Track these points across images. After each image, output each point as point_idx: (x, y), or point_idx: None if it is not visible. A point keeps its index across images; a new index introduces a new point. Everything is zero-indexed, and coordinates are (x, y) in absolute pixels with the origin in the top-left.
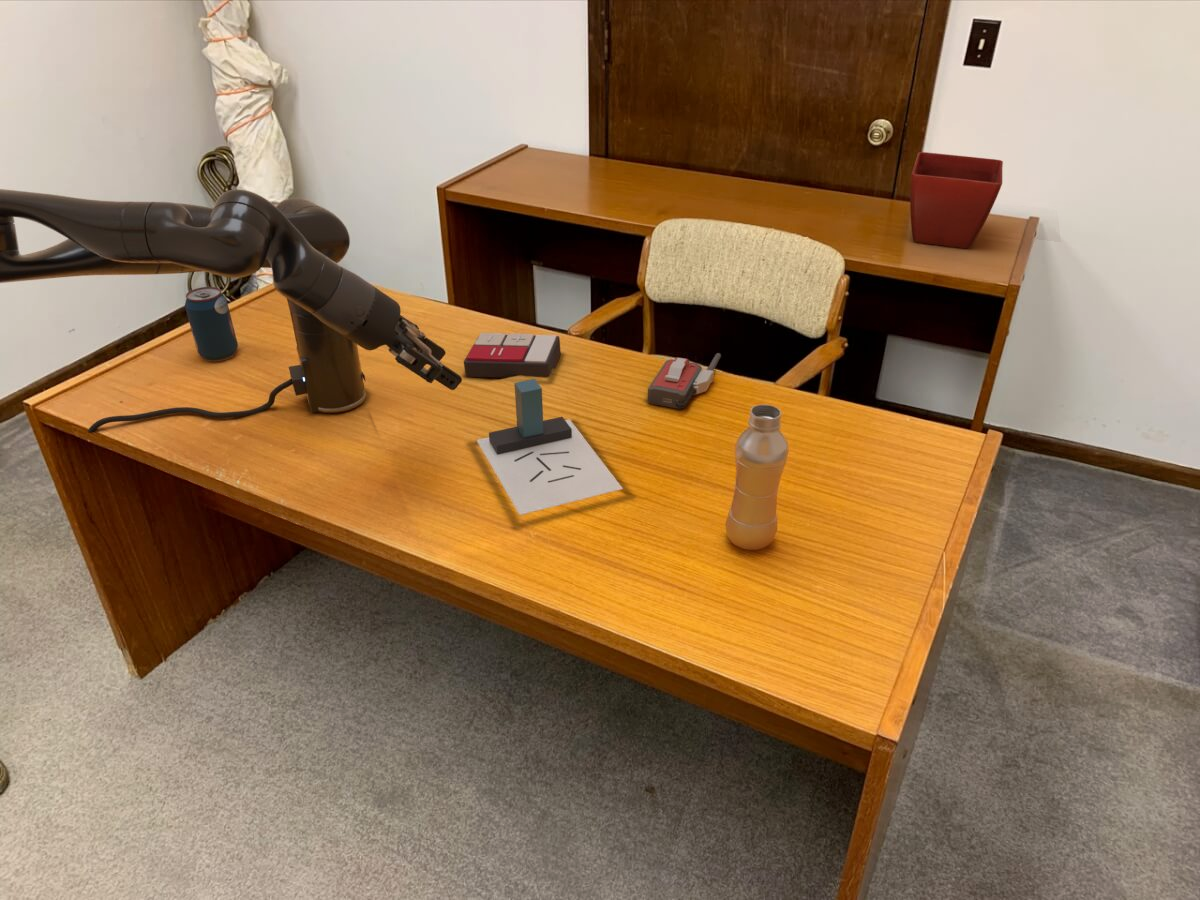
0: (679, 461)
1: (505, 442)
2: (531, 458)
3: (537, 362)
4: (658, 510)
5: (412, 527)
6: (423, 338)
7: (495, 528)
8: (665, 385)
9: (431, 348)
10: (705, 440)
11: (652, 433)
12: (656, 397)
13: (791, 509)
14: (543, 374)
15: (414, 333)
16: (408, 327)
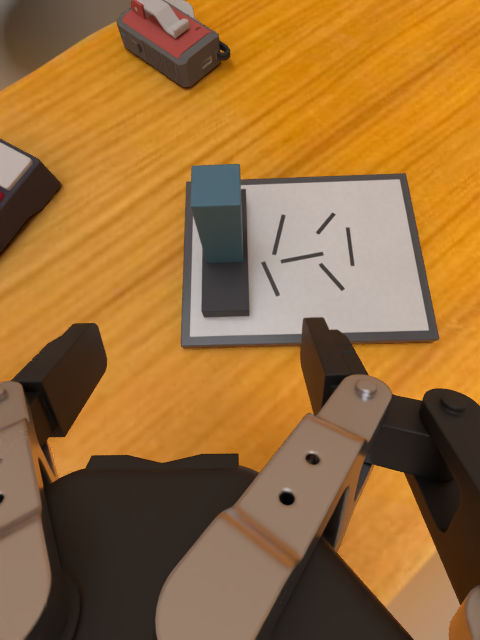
0: (337, 104)
1: (244, 293)
2: (279, 269)
3: (24, 172)
4: (438, 160)
5: (392, 509)
6: (27, 397)
7: (428, 373)
8: (188, 43)
9: (74, 371)
10: (301, 64)
11: (261, 109)
12: (195, 70)
13: (470, 41)
14: (48, 181)
15: (233, 544)
16: (52, 559)
